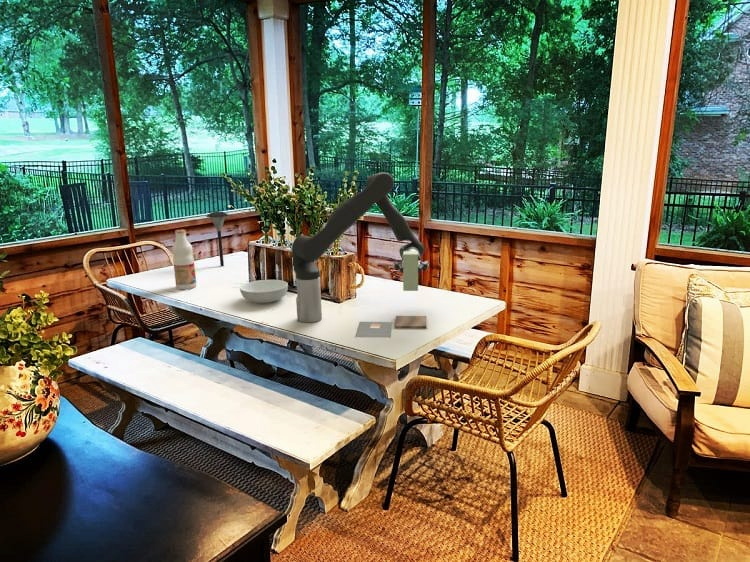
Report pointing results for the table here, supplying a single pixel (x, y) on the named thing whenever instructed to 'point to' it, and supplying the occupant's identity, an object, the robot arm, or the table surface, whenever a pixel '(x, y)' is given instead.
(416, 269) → the sage block
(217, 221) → the solar garden light
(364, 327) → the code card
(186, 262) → the fruit juice
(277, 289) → the serving bowl
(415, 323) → the walnut pad
